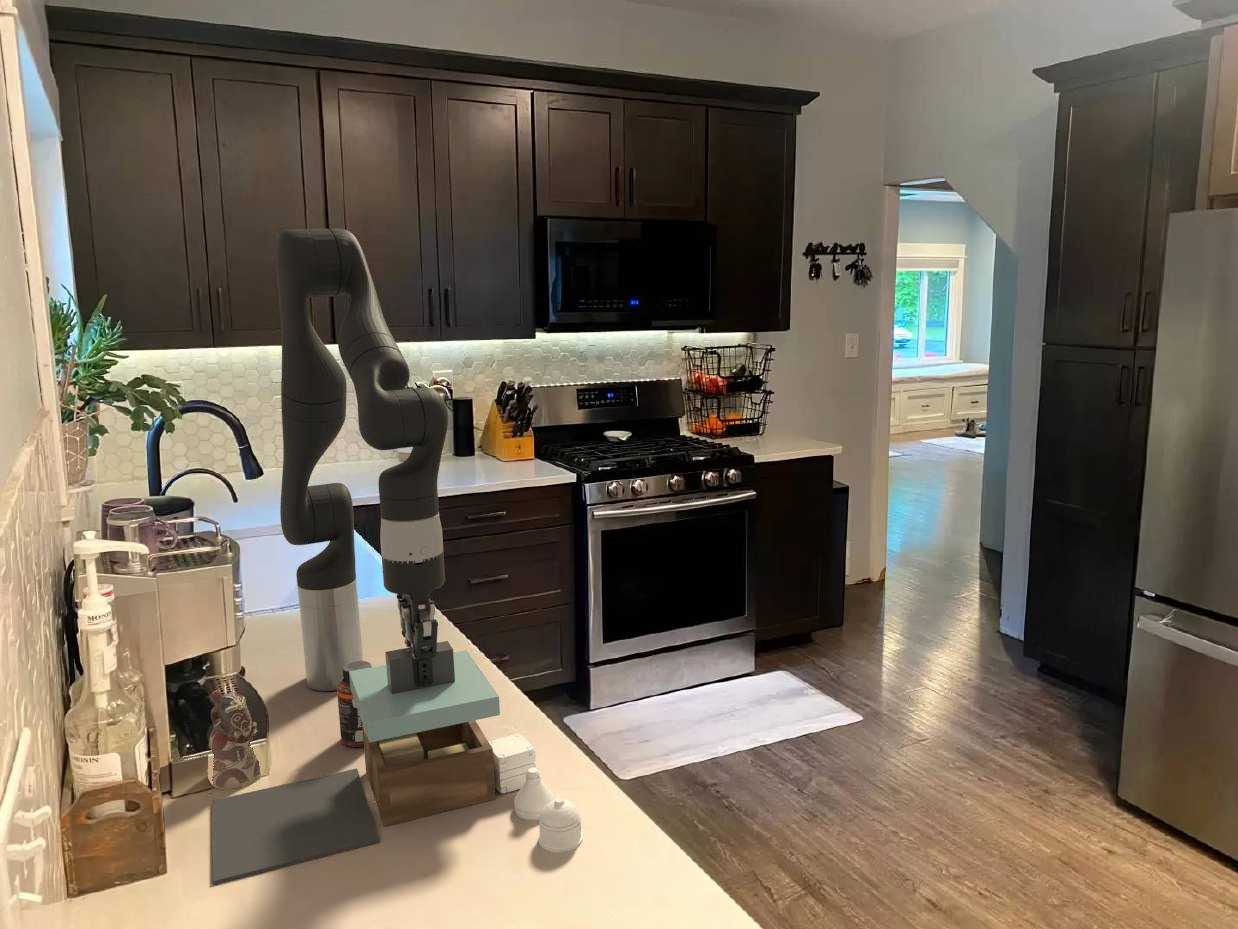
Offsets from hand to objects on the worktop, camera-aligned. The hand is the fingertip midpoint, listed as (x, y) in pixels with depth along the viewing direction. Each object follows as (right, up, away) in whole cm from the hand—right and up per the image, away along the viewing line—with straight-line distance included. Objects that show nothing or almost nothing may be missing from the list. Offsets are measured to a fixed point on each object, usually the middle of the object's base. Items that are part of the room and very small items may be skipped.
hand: (421, 678), depth 118 cm
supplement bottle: (-12, -13, +16) cm, 23 cm away
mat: (-15, -16, -5) cm, 23 cm away
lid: (0, -3, +1) cm, 3 cm away
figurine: (-26, -15, +7) cm, 31 cm away
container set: (+15, -16, -3) cm, 22 cm away
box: (0, -15, +3) cm, 15 cm away
